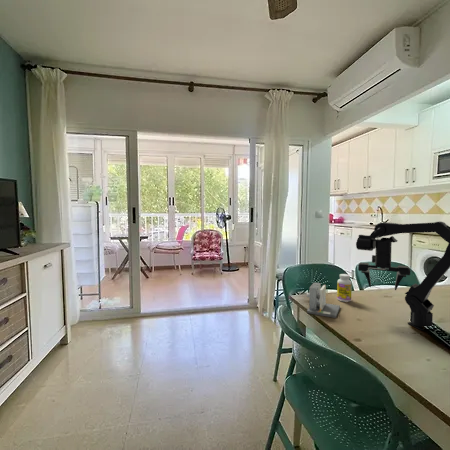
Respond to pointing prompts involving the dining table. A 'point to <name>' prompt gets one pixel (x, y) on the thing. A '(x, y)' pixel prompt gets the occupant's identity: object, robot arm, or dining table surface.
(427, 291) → the robot arm
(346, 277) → the supplement bottle
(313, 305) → the anvil block
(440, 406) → the dining table surface
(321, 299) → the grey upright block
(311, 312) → the base
